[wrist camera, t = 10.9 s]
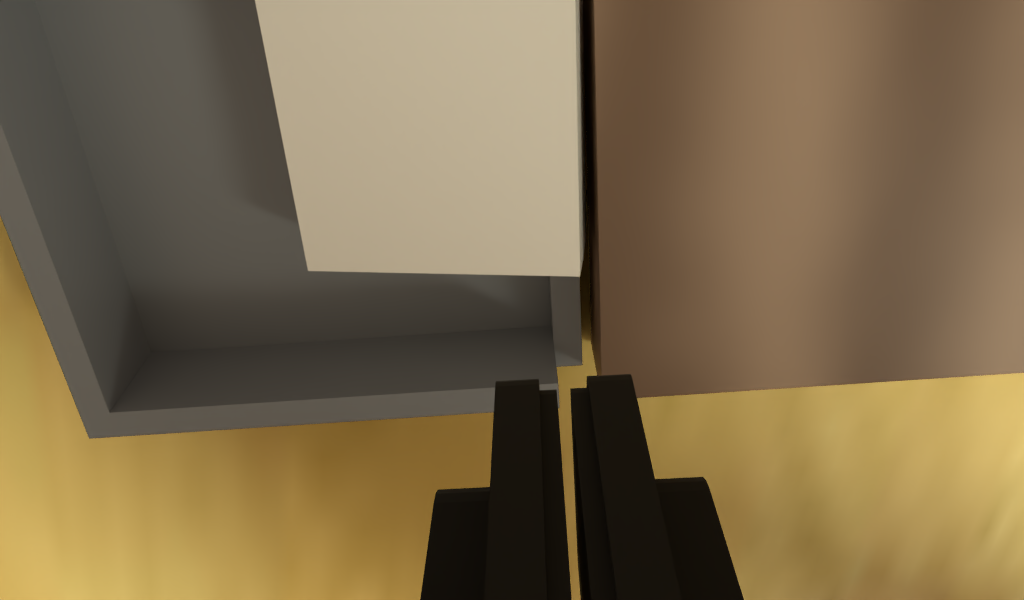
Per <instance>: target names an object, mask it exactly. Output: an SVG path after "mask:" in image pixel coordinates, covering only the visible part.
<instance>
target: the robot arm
mask: <svg viewBox="0 0 1024 600" xmlns="http://www.w3.org/2000/svg"><path fill="white" fill-rule="evenodd" d="M571 415H572V438H573V461H574V484H575V507H576V530H577V552H578V569H579V582H580V594H581V600H744V599H743V596H742V592H741V589H740V586H739V583H738V580H737V576H736V573H735V570H734V567H733V563H732V560H731V557H730V554H729V550H728V547H727V544H726V541H725V537H724V534H723V531H722V528H721V525H720V521H719V518H718V515H717V512H716V508H715V505H714V502H713V499H712V495H711V492H710V489H709V487H708V484H707V482H706V480H705V479H704V478H703V477H693V478H672V479H655V478H654V473H653V469H652V464H651V460H650V455H649V451H648V446H647V442H646V438H645V433H644V429H643V424H642V420H641V415H640V411H639V406H638V402H637V397H636V393H635V388H634V384H633V379H632V376H631V374H620V375H601V376H587V388H575V389H571ZM420 600H571V586H570V572H569V557H568V543H567V529H566V515H565V501H564V486H563V472H562V458H561V444H560V430H559V415H558V401H557V389H556V390H540V386H539V379H525V380H507V381H496V383H495V400H494V420H493V440H492V460H491V479H490V487H485V488H464V489H443V490H438V491H437V492H436V495H435V500H434V506H433V513H432V520H431V528H430V535H429V542H428V549H427V556H426V564H425V571H424V578H423V585H422V592H421V599H420Z"/></svg>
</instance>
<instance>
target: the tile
mask: <svg viewBox="0 0 1024 600" xmlns="http://www.w3.org/2000/svg"><path fill="white" fill-rule="evenodd" d="M255 3H256V8H257V14H258V19H259V24H260V29H261V34H262V39H263V44H264V49H265V54H266V59H267V64H268V70H269V75H270V80H271V85H272V90H273V95H274V100H275V105H276V110H277V115H278V120H279V126H280V131H281V136H282V141H283V146H284V151H285V156H286V161H287V166H288V171H289V176H290V182H291V187H292V192H293V197H294V202H295V207H296V212H297V217H298V222H299V227H300V233H301V238H302V243H303V248H304V253H305V258H306V263H307V268H308V271H334V272H382V273H430V274H478V275H526V276H574V277H580V274H581V268H582V263H583V257H584V251H585V245H586V196H585V117H584V39H583V0H255Z"/></svg>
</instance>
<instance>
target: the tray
mask: <svg viewBox="0 0 1024 600" xmlns="http://www.w3.org/2000/svg"><path fill="white" fill-rule="evenodd" d="M0 216H1V218H2V221H3V223H4V226H5V228H6V231H7V233H8V236H9V238H10V241H11V243H12V246H13V248H14V251H15V253H16V256H17V258H18V261H19V263H20V266H21V268H22V271H23V273H24V276H25V278H26V281H27V283H28V286H29V288H30V291H31V294H32V296H33V299H34V301H35V304H36V306H37V309H38V311H39V314H40V316H41V319H42V321H43V324H44V326H45V329H46V331H47V334H48V336H49V339H50V341H51V344H52V346H53V349H54V351H55V354H56V356H57V359H58V361H59V364H60V366H61V369H62V371H63V374H64V376H65V379H66V381H67V384H68V386H69V389H70V391H71V394H72V396H73V399H74V401H75V404H76V406H77V409H78V411H79V414H80V417H81V419H82V422H83V424H84V427H85V429H86V432H87V434H88V437H89V438H105V437H120V436H135V435H151V434H166V433H181V432H197V431H212V430H227V429H243V428H258V427H273V426H289V425H304V424H320V423H335V422H350V421H366V420H381V419H396V418H412V417H427V416H442V415H458V414H473V413H488V412H494V400H495V383H496V381H507V380H525V379H539V386H540V390H556V389H557V401H558V408H559V389H558V377H557V368H556V367H561V366H576V365H582V337H581V306H580V277H574V276H526V275H478V274H430V273H382V272H334V271H308V268H307V263H306V258H305V253H304V248H303V243H302V238H301V233H300V227H299V222H298V217H297V212H296V207H295V202H294V197H293V192H292V187H291V182H290V176H289V171H288V166H287V161H286V156H285V151H284V146H283V141H282V136H281V131H280V126H279V120H278V115H277V110H276V105H275V100H274V95H273V90H272V85H271V80H270V75H269V70H268V64H267V59H266V54H265V49H264V44H263V39H262V34H261V29H260V24H259V19H258V14H257V8H256V3H255V0H0Z"/></svg>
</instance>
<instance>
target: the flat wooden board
mask: <svg viewBox="0 0 1024 600" xmlns="http://www.w3.org/2000/svg"><path fill="white" fill-rule="evenodd" d="M583 39H584V89H585V127H586V165H587V203H588V240H589V278H590V316H591V344H592V350H593V355H594V360H595V365H596V371H597V376H601V375H620V374H631V376H632V379H633V384H634V388H635V393H636V397H637V398H642V397H658V396H673V395H688V394H704V393H719V392H734V391H750V390H765V389H780V388H796V387H811V386H826V385H842V384H857V383H872V382H888V381H903V380H918V379H934V378H949V377H964V376H980V375H995V374H1010V373H1024V0H583Z"/></svg>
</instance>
